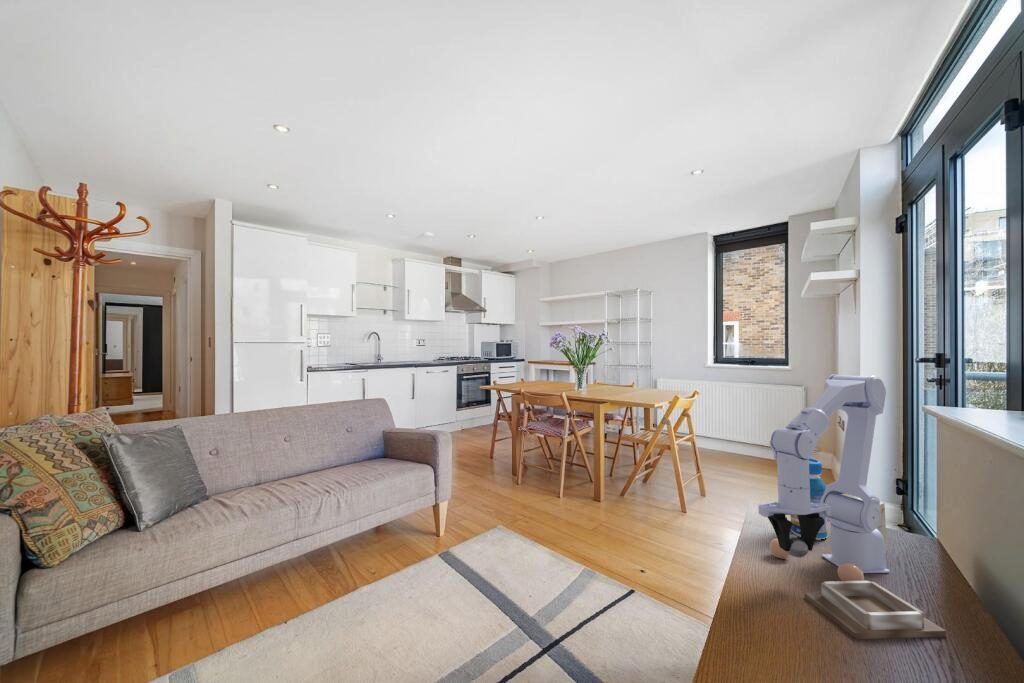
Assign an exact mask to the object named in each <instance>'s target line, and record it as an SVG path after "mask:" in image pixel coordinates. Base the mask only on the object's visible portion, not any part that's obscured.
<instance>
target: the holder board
mask: <svg viewBox="0 0 1024 683" xmlns="http://www.w3.org/2000/svg"><path fill="white" fill-rule="evenodd" d="M820 583H821V591H814V592H811V591H810V592H804V599H806V600H807V601H808V602H809V603H811V604H812V605H813V606H814V607H816V608H817V609H818V610H819V611H820V612H821V613H823V614H824V615H825V616H827V617H828V618H829V619H830V620H832V621H833V622H834V623H835V624H837V626H839V627H840V628H841V629H842V630H843V631H845V632H847V633H848V635H850V636H851V637H853V638H854V639H855V640H867V639H906V638H907V639H909V638H910V639H911V638H912V639H913V638H942V637H943V638H944V637H945V638H946V637H947V630H945V629H944V628H943V627H941V626H939V625H937V624H936V623H934V622H933V621H932V620H929V619H928V618H927V617H924V616H925V614H924V613H925V612H924V611H922V610H920V609H919V608H917V607H915V606H913V605H912V604H910V603H909V602H908V601H906V600H904V599H902V598H901V597H899V596H897V595H896V594H895V593H893V592H891V591H889V590H888V589H887V588H884V587H883V586H881V585H880V584H878V583H876V582H875V581H869V580H864V581H842V580H837V581H836V580H835V581H833V580H831V581H830V580H829V581H823V582H820Z"/></svg>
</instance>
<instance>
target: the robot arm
mask: <svg viewBox="0 0 1024 683" xmlns="http://www.w3.org/2000/svg"><path fill="white" fill-rule="evenodd" d="M823 390H824V392H823V393H822V394H821V395H820V397H819V398H818V399H817V401H816V402H815V403H814V404H813V405H812V407H805V408H804V407H803V408H802V409H801V410H800V411H799V413H798V414H796V416H795V417H794V418H792V419H791V421H790V422H789V423H788V424H787V425H786V426H785V427H779V428H778V429H775V430H774V431H773V432H772V433H771V435H770V436H771V437H770V440H769V446H770V448H771V450H772V451H773V452H772V453H773V459H774V460H775V462H776V467H777V468H776V469H777V472H776V473H777V495H778V497H777V499H778V500H777V501H773V502H769V503H763V504H758V514H759V515H760V516H762V517H764V518H767V519H768V521H769V522H770V524H771V526H772V528H773V531H774V532H775V535H776V538H777V539H778V542H779V546H780V548H782V549H783V550H785V551H789V548H790V535H791V526H792V524H793V523H792V522H791V520H789V519H788V517H787V516H791V515H797V516H798V519H799V524H800V529H801V538H803V539H804V540H805V541H806V543H807V545H808V552H809V551H810V552H811V551H813V548H814V544H815V541H816V540H815V539H816V536H817V534H818V532H819V530H820V529H821V527H822V526H823V525H824V523H825V522H824V519H823V518H822V517H820V514H823V515H824V516H825V517H826V522H828V523H830V545H831V546H830V547H831V549H830V550H831V553H825V554H824V553H823V554H821V556H822V558H824V559H826V561H828V562H830V563H831V564H834V565H835V566H837V568H838V567H839V566H840V565H841V564H843V563H851V564H854V565H856V566H857V567H858V568H860V570H861V571H862V572H863V574H878V573H879V574H881V573H883V574H885V573H887V574H888V573H890V572H891V571H890V569H888V568H887V559H886V555H887V554H886V552H885V541H884V538H883V536H882V534H881V533H880V531H879V530H878V529H877V528H878V526H879V525H880V521H881V513H880V502H881V500H880V498H879V497H878V496H876V494H875V493H874V492H873V491H871V490H870V489H869V487H868V486H867V484H868V476H869V470H870V464H871V463H870V462H871V457H872V456H871V455H872V448H873V443H874V434H875V429H876V428H875V427H876V421H877V416H879V415H881V414H883V413H884V408H885V403H886V395H887V389H886V386H885V384H884V381H883V380H882V379H881V378H880V377H879V376H877V375H871V376H870V375H868V376H867V375H847V374H846V375H841V374H830V375H829V376H828V377H827V378H826V379H825V381H824V384H823ZM838 410H841V411H843V412H845V414H846V415H847V422H846V429H845V436H844V442H843V448H842V455H841V461H840V467H839V475H838V479H837V480H836V481H833V482H831V483H828V484H825V486H826V489H825V492H824V494H823V496H822V498H821V501H820V503H810V478H809V458H810V459H811V457H812V456H814V454H815V451H816V446H817V445H818V442H819V440H818V439H819V438H820V437H821V435H823V433H824V432H826V430H827V429H828V427H830V425H831V424H830V420H829V418H830V417H831V416H833V414H835V413H836V412H837V411H838ZM847 495H850V496H851V497H850V496H847ZM852 496H854V497H852ZM855 497H857V498H859V499H862V500H863V501H862V500H859V499H857V498H855Z"/></svg>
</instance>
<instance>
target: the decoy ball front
mask: <svg viewBox="0 0 1024 683" xmlns="http://www.w3.org/2000/svg"><path fill="white" fill-rule="evenodd" d="M769 550H770V552H771V554H772V555H773V556H775V557H776V558H779V559H783V560H784V559H787V558H789V557H790V556H791V555H790V554H789V553H788V552H787V551H785V550H783V549H782V548H780V546H779V542H778V539H777V537H776V538H773V539H772V540H771V541H770V542H769Z"/></svg>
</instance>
